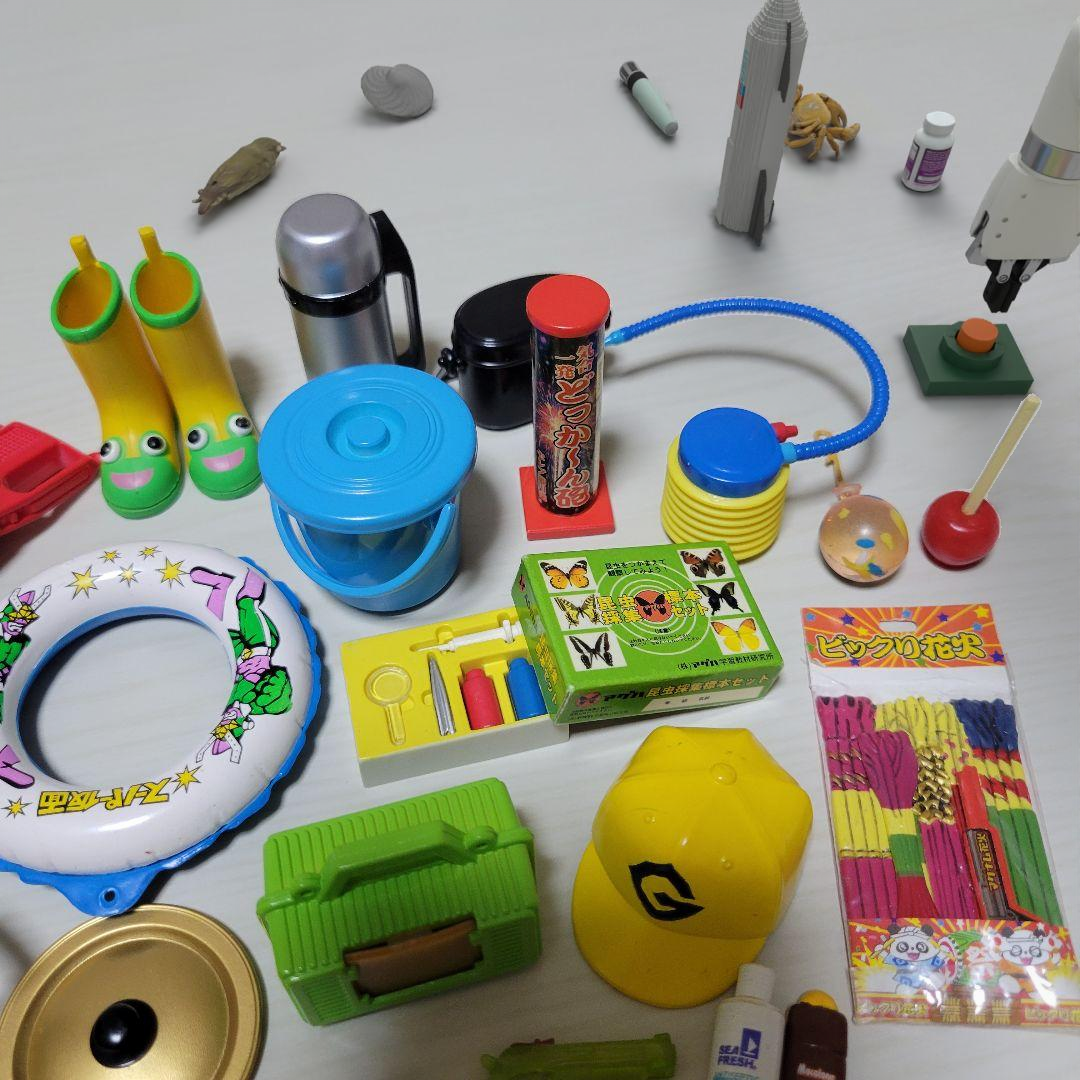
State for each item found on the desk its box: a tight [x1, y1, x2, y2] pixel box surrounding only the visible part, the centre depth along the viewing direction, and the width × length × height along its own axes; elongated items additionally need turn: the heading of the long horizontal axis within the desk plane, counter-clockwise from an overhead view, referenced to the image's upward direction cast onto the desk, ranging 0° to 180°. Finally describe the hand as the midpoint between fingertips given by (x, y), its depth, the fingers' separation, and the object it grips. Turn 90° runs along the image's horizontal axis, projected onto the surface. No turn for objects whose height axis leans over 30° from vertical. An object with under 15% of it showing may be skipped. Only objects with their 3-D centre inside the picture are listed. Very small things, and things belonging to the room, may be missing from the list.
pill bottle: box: [901, 111, 956, 192], centre depth 133 cm, size 5×5×10 cm
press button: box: [956, 317, 998, 353], centre depth 110 cm, size 4×4×2 cm
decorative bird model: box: [191, 136, 287, 216], centre depth 135 cm, size 5×20×5 cm, turn 151°
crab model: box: [784, 82, 861, 161], centre depth 143 cm, size 16×13×6 cm
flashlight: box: [618, 60, 679, 137], centre depth 149 cm, size 3×4×20 cm
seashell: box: [360, 63, 434, 119], centre depth 149 cm, size 12×6×10 cm
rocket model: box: [714, 0, 809, 248], centre depth 120 cm, size 14×7×30 cm, turn 11°
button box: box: [903, 320, 1035, 397], centre depth 112 cm, size 12×10×4 cm
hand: (994, 304), depth 106 cm, fingers closed
